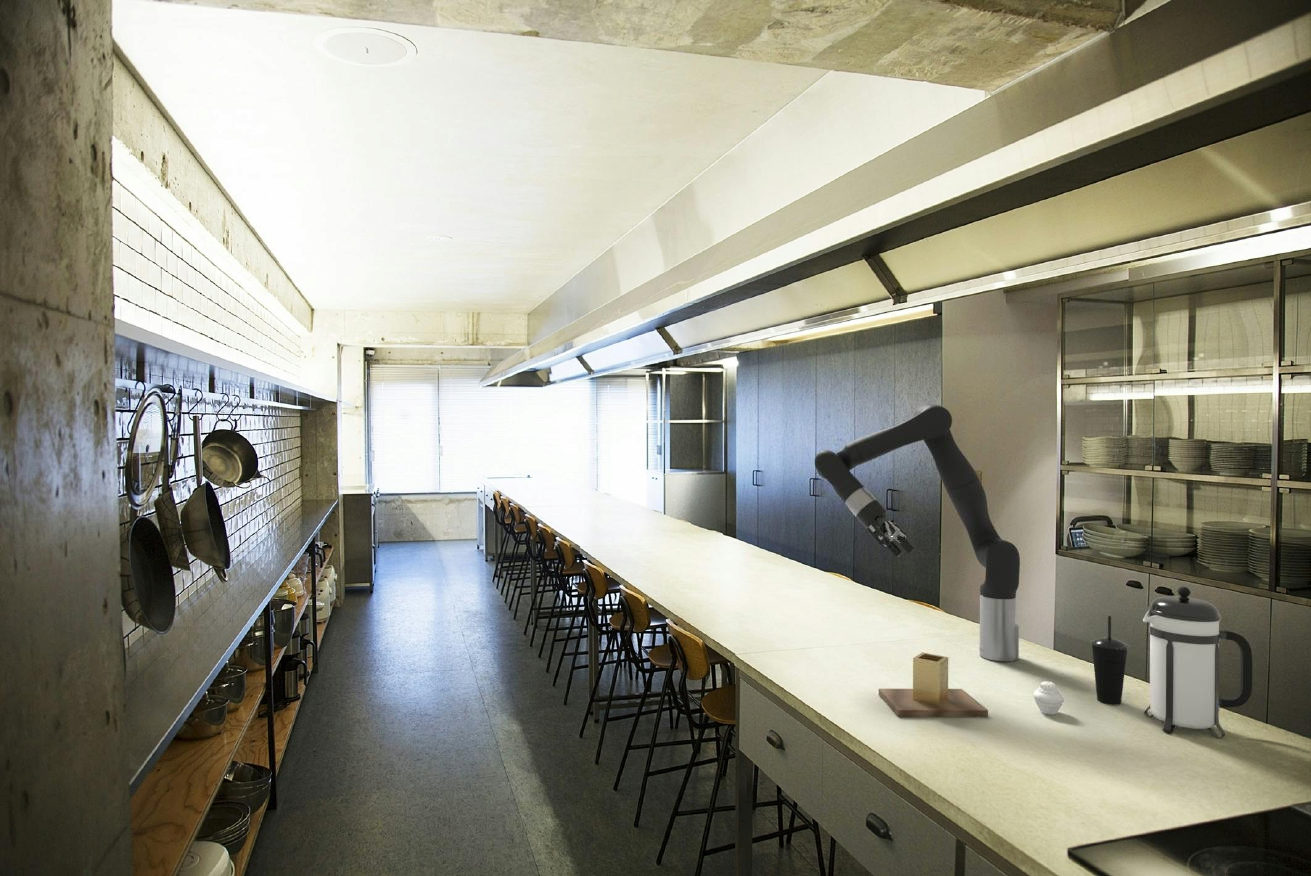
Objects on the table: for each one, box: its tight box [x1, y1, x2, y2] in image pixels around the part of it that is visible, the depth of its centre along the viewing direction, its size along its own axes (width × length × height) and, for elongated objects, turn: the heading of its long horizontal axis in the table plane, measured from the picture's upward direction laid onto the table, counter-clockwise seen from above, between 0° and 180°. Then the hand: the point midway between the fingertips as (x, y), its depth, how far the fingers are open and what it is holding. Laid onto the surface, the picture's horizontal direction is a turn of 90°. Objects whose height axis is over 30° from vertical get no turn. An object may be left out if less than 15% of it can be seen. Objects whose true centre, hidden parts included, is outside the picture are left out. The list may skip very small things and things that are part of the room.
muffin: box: [1032, 680, 1065, 716], centre depth 168 cm, size 6×6×7 cm
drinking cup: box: [1090, 615, 1130, 706], centre depth 175 cm, size 8×8×20 cm
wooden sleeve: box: [912, 652, 949, 705], centre depth 172 cm, size 6×6×10 cm
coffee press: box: [1142, 586, 1253, 739], centre depth 160 cm, size 17×16×30 cm
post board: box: [878, 688, 989, 718], centre depth 172 cm, size 20×14×7 cm
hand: (906, 552), depth 201 cm, fingers open, 8 cm apart
